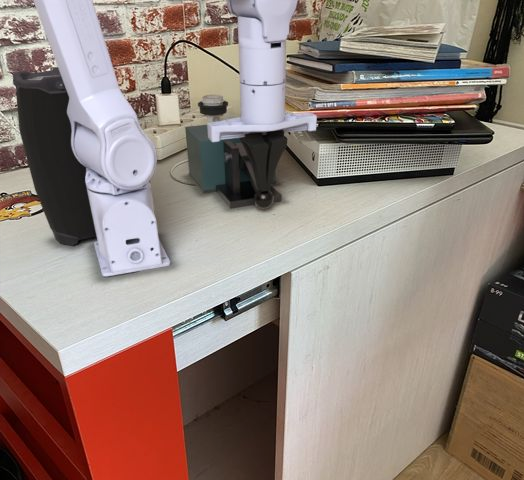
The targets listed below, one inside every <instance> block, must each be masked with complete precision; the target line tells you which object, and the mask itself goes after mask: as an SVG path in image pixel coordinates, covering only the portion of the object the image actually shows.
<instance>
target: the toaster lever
mask: <svg viewBox="0 0 524 480" xmlns="http://www.w3.org/2000/svg"><path fill="white" fill-rule="evenodd" d="M235 145H236V146H237V147H238V148H239V169H242V168H245V170H246V172H247V174H248V176H249V179H250V181H251V183H252V186H253V188H254V190H255V192H256V193H255V195H254V202H255V204H256V205H255V206H256V207H257V208H259V209H261V210H266V209H269V208H270V207H272V205H273V203H274V202H273V200H274V197H273V194H272V192H271V191H263V192H261V191H260V190H259V189H258V188H257V186H256V180H255V176H254V172H253V168H252V165H251V162H250V160H249V157H248V155H247V153H246V151H245V148H244V146H243V145H242V143H235Z"/></svg>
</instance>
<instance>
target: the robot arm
mask: <svg viewBox="0 0 524 480" xmlns="http://www.w3.org/2000/svg"><path fill="white" fill-rule="evenodd" d="M225 2H226V5H227V8H228V10H229V12H230V14H231V15H233V16H235V18H237V37H238V39H237V40H238V66H239V68H238V69H239V70H238V71H239V99H240V100H239V102H240V104H239V105H240V116H237V117H233V118H227V119H223V120H220V121H218V122H211V123H208V122H207V123H206V125H207V129H208V138H209V140H210V141H212V142H218V141H220V140H223V139H231V138H240V141H241V143H242V145H243V146H244V148H245V151H246V153H247V155H248V157H249V160H250V162H251V165H252V168H253V172H254V176H255V180H256V186H257V188H258V189H259V190H260V191H261V192H263V191H270V190H271V186H273V184H272V180H273V177H274V173H275V174H276V169H277V166H278V164H279V161H280V160H281V158H282V156H283V153H284V151H285V150H286V148H287V147H288V137H287V136H286V135H285V134H286V133H293V132H302V131H308V132H316V131H317V119H318V116H317V115H316V114H315V113H313V112H288V113H286V80H287V79H286V77H287V75H286V74H287V73H286V71H287V70H286V68H287V39H288V35H290V24H291V19H292V17H293V15H294V13H295V12H296V8H297V5H298V0H226V1H225ZM33 4H34V6H35V9H36V13H37V15H38V17H39V20H40V23H41V25H42V28H43V31H44V34H45V36H46V38H47V42H48V44H49V46H50V47H49V48H50V49H51V51H52V55H53V58H54V61H55V63H56V67H58V68H59V71H60V74H61V77H62V79H63V82H64V85H65V87H66V90H67V93H68V95H69V103H68V108H67V114H68V117H69V120H70V123H71V129H72V133H71V146H72V150H73V153H74V155H75V157H76V159H77V160H78V161H79V162H80V163H81V164H82V165H83V166H85V167H86V177H85V179H86V180H85V182H86V186H87V192H88V197H89V202H90V207H91V212H92V216H93V221H94V226H95V231H96V240H95V241H94V242H93V246H94V250H95V253H96V257H97V260H98V264H99V267H100V272H101V275H102V276H103V277H105V278H106V277H112V276H113V277H114V276H118V275H119V276H120V275H123V274H124V275H125V274H130V273H136V272H141V271H146V270H147V271H148V270H153V269H158V268H165V267H169V266H171V260H170V258H169V255H168V254H167V252H166V250H165V248H164V246H163V244H162V242H161V240H160V238H159V230H158V229H159V228H158V223H157V217H156V215H155V207H154V199H153V193H152V191H153V190H152V185H151V179H152V177H153V175H154V173H155V171H156V168H157V163H158V155H157V154H158V153H157V150H156V147H155V144H154V143H153V141H152V140H151V138H150V137H149V136H148V134H146V133H145V131H144V130H143V129H142V126H141V125H140V122H139V118H138V115H137V113H136V111H135V110H134V107H132V105H131V103H130V102H129V101H128V100H127V98H126V96H125V95H124V93H123V92H122V90H121V89H120V85H119V83H118V79H117V75H116V73H115V69H114V66H113V62H112V60H111V55H110V53H109V50H108V47H107V43H106V39H105V37H104V36H105V35H104V34H103V30H102V27H101V23H100V21H99V17H98V13H97V11H96V7H95V4H94V1H93V0H33Z"/></svg>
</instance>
